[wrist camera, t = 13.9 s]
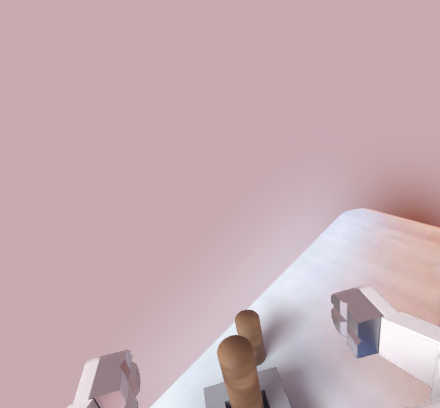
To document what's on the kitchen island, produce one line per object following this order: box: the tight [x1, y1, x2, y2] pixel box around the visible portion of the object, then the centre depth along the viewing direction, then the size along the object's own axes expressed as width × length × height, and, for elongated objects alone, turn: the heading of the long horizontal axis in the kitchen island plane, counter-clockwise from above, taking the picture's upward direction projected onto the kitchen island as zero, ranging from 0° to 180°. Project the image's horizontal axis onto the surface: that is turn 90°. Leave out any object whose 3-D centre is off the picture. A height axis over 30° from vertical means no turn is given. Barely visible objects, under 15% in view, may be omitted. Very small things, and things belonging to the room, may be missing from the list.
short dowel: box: [235, 310, 265, 366], centre depth 44 cm, size 4×4×8 cm
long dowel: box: [217, 335, 264, 408], centre depth 32 cm, size 4×4×16 cm
